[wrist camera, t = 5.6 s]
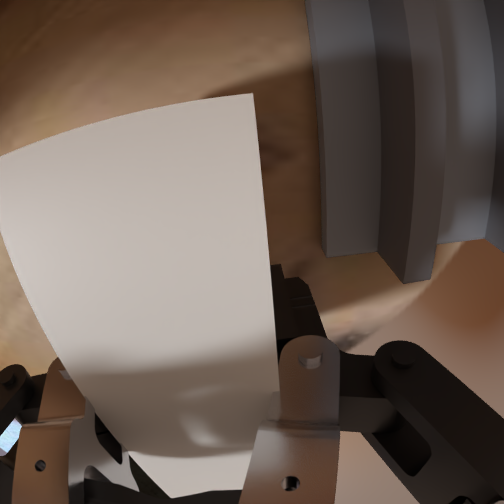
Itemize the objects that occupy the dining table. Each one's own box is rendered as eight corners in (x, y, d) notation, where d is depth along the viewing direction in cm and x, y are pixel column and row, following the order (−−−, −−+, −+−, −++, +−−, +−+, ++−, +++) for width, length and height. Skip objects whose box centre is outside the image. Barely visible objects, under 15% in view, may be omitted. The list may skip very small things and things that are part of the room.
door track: (321, 248, 16) (344, 292, 12) (272, -146, 5) (279, -184, 1) (513, 227, 15) (551, 253, 12) (476, -93, 5) (507, -107, 1)
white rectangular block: (191, 362, 16) (178, 504, 9) (133, 120, 10) (-18, 165, 3) (267, 356, 16) (286, 501, 9) (240, 101, 10) (253, 93, 3)
